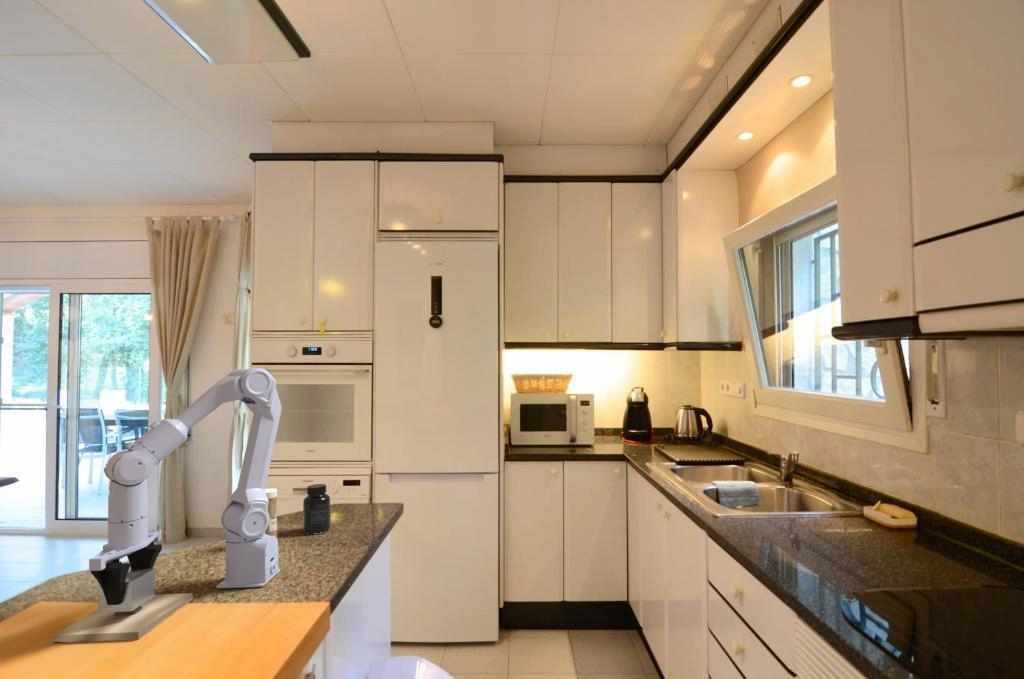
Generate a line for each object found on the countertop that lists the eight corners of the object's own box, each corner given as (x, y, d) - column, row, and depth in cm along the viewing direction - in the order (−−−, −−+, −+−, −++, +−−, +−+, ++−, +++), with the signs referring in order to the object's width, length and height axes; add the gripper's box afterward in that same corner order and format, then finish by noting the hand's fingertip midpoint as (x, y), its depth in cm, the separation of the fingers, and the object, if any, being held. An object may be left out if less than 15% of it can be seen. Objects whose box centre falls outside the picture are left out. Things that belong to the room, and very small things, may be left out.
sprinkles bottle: (279, 544, 125) (278, 490, 126) (258, 548, 123) (258, 493, 123) (276, 539, 129) (275, 486, 130) (256, 543, 126) (256, 489, 127)
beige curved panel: (192, 599, 96) (192, 571, 96) (138, 639, 82) (138, 606, 82) (119, 602, 96) (119, 574, 96) (52, 643, 82) (52, 610, 82)
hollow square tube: (154, 596, 92) (154, 568, 92) (131, 611, 86) (131, 581, 86) (123, 597, 92) (124, 569, 92) (98, 612, 86) (99, 582, 86)
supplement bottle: (305, 528, 137) (305, 484, 138) (332, 525, 139) (331, 481, 140) (301, 536, 131) (300, 489, 131) (329, 533, 132) (328, 487, 133)
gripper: (136, 507, 97) (136, 579, 96) (70, 532, 82) (69, 617, 82) (172, 506, 97) (172, 577, 96) (113, 531, 82) (113, 615, 82)
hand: (128, 595), depth 89 cm, fingers closed on hollow square tube, 5 cm apart
